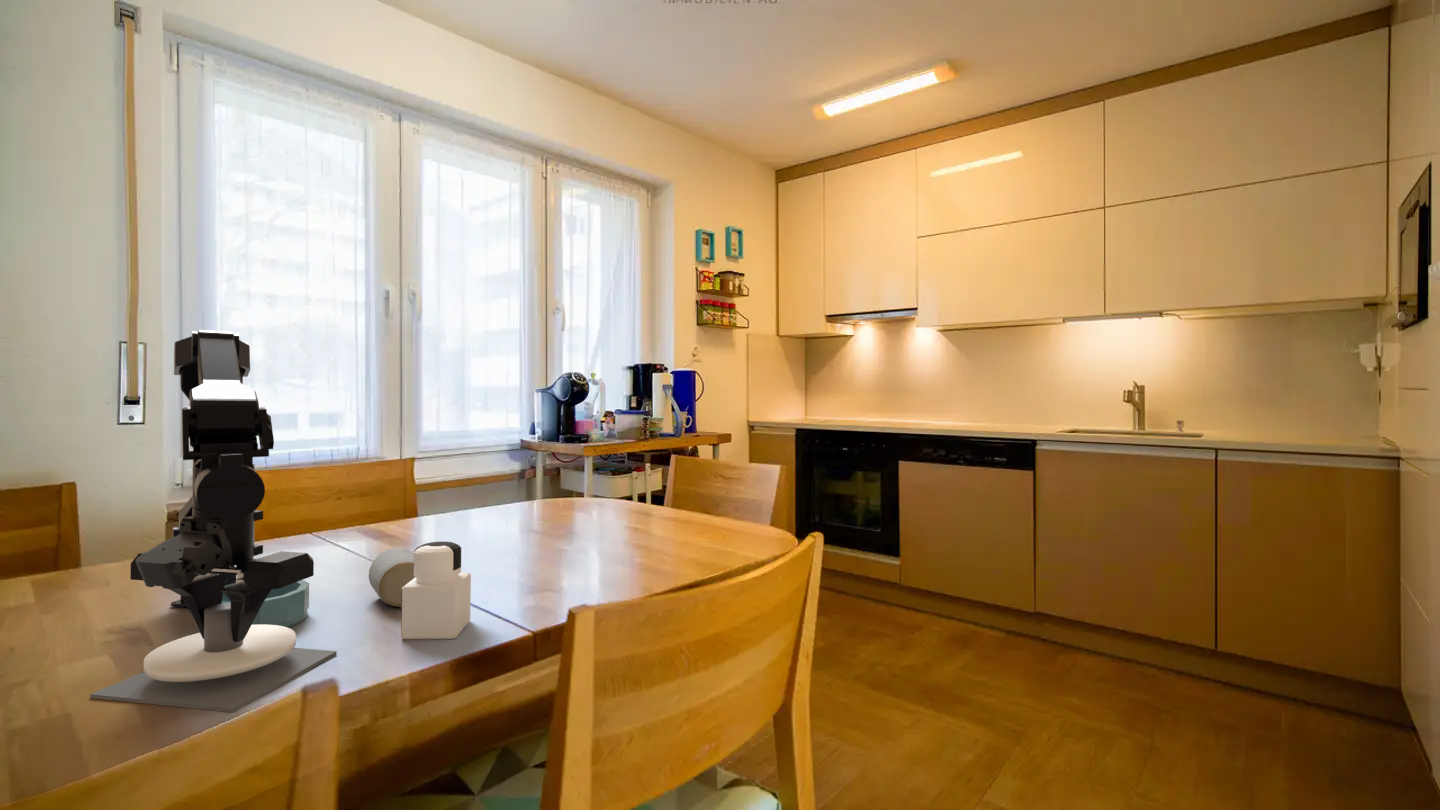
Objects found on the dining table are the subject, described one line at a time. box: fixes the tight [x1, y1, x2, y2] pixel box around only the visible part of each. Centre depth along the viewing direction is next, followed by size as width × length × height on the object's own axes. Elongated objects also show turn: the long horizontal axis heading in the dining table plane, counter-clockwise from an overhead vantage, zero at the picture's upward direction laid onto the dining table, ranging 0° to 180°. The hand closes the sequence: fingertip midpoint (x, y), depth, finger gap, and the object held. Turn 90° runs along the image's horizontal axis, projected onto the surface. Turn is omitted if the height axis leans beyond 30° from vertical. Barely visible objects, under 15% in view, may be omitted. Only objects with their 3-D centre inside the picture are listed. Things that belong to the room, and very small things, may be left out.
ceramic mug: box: [368, 547, 415, 608], centre depth 104 cm, size 11×8×8 cm
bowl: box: [221, 579, 310, 628], centre depth 93 cm, size 12×12×4 cm
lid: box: [143, 603, 297, 682], centre depth 76 cm, size 14×14×6 cm
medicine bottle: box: [400, 541, 472, 640], centre depth 91 cm, size 7×7×12 cm
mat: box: [89, 647, 337, 713], centre depth 76 cm, size 17×15×1 cm
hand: (223, 639), depth 76 cm, fingers closed on lid, 4 cm apart
